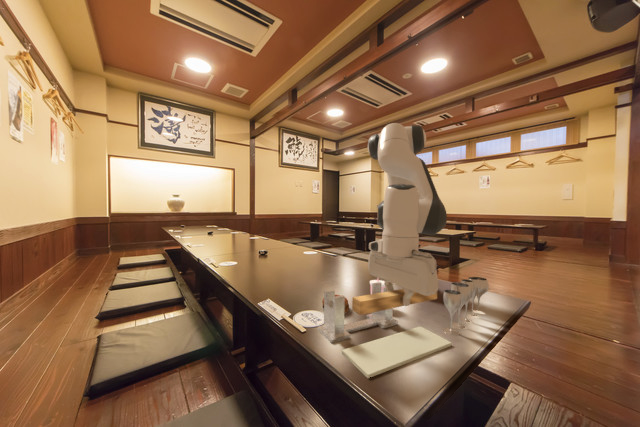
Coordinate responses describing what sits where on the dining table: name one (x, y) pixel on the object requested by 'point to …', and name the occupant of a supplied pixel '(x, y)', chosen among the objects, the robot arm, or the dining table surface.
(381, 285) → the beverage cup
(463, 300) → the goblet set
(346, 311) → the burger
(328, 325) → the rack
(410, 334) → the mat
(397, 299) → the bar
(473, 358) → the dining table surface
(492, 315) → the dining table surface
